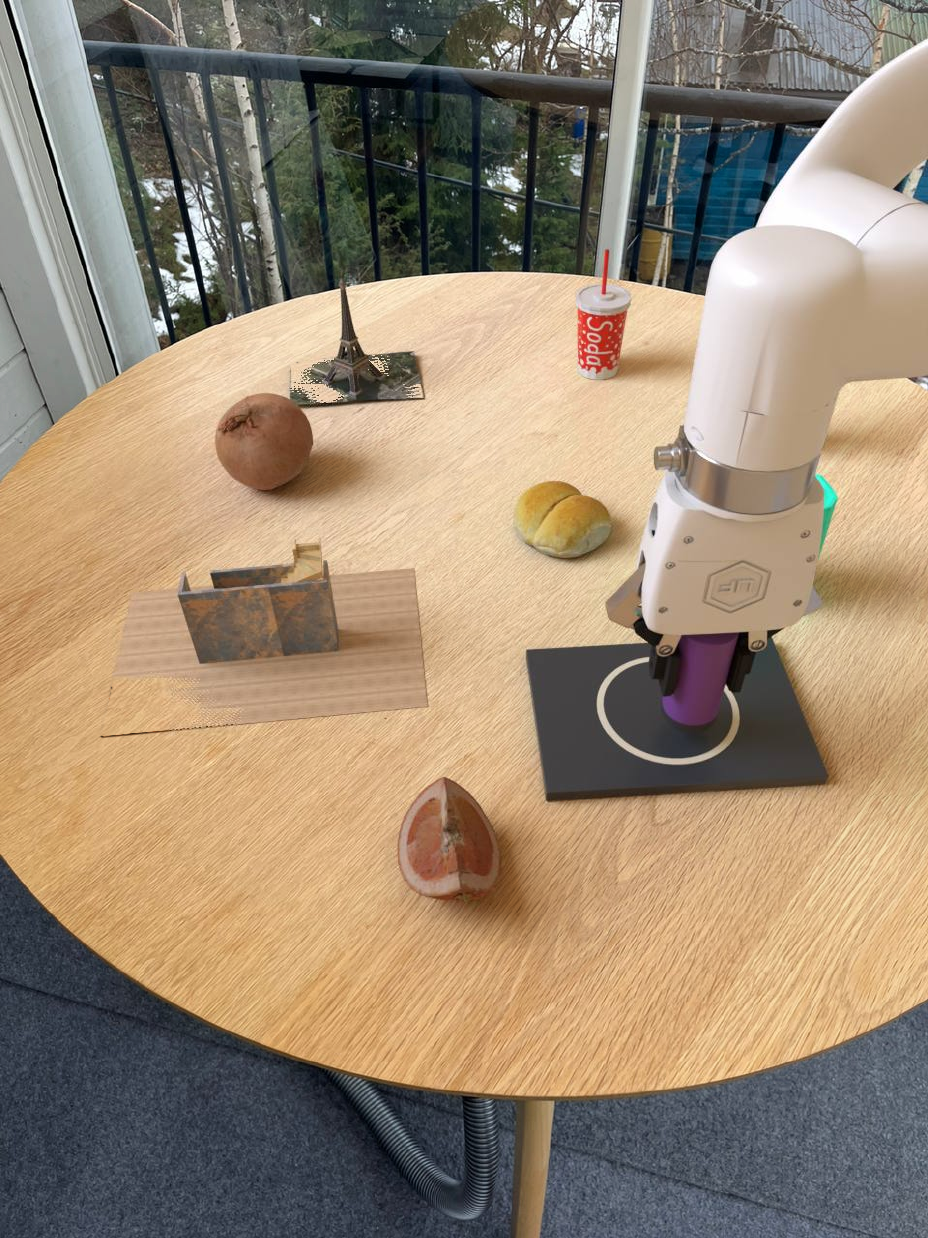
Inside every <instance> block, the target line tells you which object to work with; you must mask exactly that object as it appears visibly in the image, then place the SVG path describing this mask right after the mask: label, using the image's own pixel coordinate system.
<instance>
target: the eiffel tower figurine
mask: <svg viewBox="0 0 928 1238" xmlns="http://www.w3.org/2000/svg"><path fill="white" fill-rule="evenodd" d="M340 276H341V279H340V281H338V286H339V289H340V306H341V307H340V308H341V337H340V338H339V341H340V343H339V347H338V352H337V355H336V356H334V357H333V358H334V360H331V361H330V360H327V361H326V362H327V363H326V362H318V363H320V364H318V363H317V364H313V365H312V367H308V369H309V368H311V370H307V369H305V370H307V372H309V371H310V373H307V372H303V374H306V373H307V375H304V377H305V378H306V379H303V378H304V377H302V379H303V380H304V381H305V380H307V379H308V378H307V377H306V376H308V377H309V378H310V379H309V380H308V381H310V380H313V381H312V382H310V383H307V382H306V384H311V383H312V384H324V385H325V384H326V386H327V387H328V386H329V388H333V390H336V391H337V392H340V394H342V395H344V396H345V395H346V396H345V397H343V396H341V397H342V398H343V399H340V400H338V399H336V400H337V402H334V403H332V402H331V403H332V404H338V403H347V402H354V403H357V402H358V401H368V400H369V401H370V400H371V401H372V400H373V401H374V400H407V399H406V398H410V397H408V396H412V397H413V396H417V395H421V394H416V395H406V394H411V393H414V392H419V390H416V391H408V390H412V389H415V388H420V387H411V388H405V387H410V386H413V385H416V384H422V378H421V374H420V371H419V367H418V364H417V363H418V362H417V359H416V353H415V351H414V350H409V351H397V352H387V353H378V354H377V353H375V354H374V355H375V356H372V355H373V354H367V353H365V352H364V351H363V348H362V346H361V344H360V342H359V336H357V334H356V332H355V328H354V324H353V319H352V314H351V309H350V305H349V300H348V299H349V298H348V294H347V287H346V286H347V282H346V280H344V279H343V274H342V272H340ZM381 355H382V356H381ZM387 356H388V357H387ZM375 357H378V358H379V360H380V361H381V362H382V361H384V360H385V361H386V362H382V364H384V363H387V365H386V364H384V365H383V367H384V370H385V369H389V370H385V372H380V371H383V370H380V371H379V370H378V369H377V368H376V367H375V366H374V365H373V364H372V363H371V362H370V361H375V360H378V359H372V358H375ZM381 358H384V359H381ZM387 359H390V360H387ZM369 360H370V361H369ZM324 361H325V360H324ZM328 361H329V362H328ZM374 363H378V361H377V362H374ZM382 364H380V365H382ZM377 365H378V364H377ZM313 366H314V367H313ZM378 366H379V365H378ZM385 366H388V368H387V367H385ZM379 368H382V367H379ZM368 369H369V370H368ZM305 370H304V371H305ZM301 373H302V372H301ZM384 373H388V374H384ZM309 374H311V375H309ZM387 375H389V376H387ZM301 376H302V375H301ZM314 378H315V379H314ZM420 378H421V379H420ZM300 380H301V379H300ZM316 380H318V381H316ZM322 380H323V381H322ZM301 382H303V381H301ZM313 382H315V383H313ZM319 382H321V383H319ZM294 383H296V382H294ZM298 384H300V383H298ZM301 384H305V383H301ZM403 384H405V385H403ZM422 385H423V384H422ZM294 387H295V386H294ZM298 387H299V386H298ZM315 387H316V386H315ZM302 388H303V387H302ZM290 389H292V388H290V387H289V399H290V400H291V401H293V402H294V403H295V404H296V405H313V404H312V403H314V402H315V403H317V404H316V405H319V404H318V403H320V402H316V401H317V400H313V399H308V398H310V397H311V396H308V397H306V396H307V395H309V394H305V393H306V392H308V391H305V392H302V390H303V391H304V390H305V389H302V390H300V389H301V388H298V390H295V389H296V388H294V390H290ZM311 389H313V388H311ZM318 389H319V388H318ZM292 391H294V392H292ZM297 391H299V392H297ZM313 391H315V390H313ZM299 393H301V394H299ZM309 393H312V392H309ZM340 394H339V395H340ZM313 395H315V394H313ZM313 395H312V396H313ZM317 396H319V395H317ZM341 397H338V398H341ZM312 398H316V397H312ZM336 400H333V401H336ZM310 401H311V402H310ZM321 401H323V400H321ZM324 403H326V402H324Z"/></svg>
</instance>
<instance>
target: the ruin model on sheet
mask: <svg viewBox="0 0 928 1238" xmlns="http://www.w3.org/2000/svg"><path fill="white" fill-rule="evenodd" d="M318 540H319V541H317V542H305V543H297V538H294V548H292V549H291V550H292V555H293V556H292V557H293V562H292V563H283V564H272V565H271V564H270V565H260V566H259V565H258V566H249V567H236V568H223V569H209V576H210V578H211V582H212V585H203V586H190V583H189V580H188V577H187V574H186V572H185V571H183V572H180V578H179V584H178V588H169V589H168V588H167V589H157V590H143V591H132V592H131V596H130V600H129V605H128V608H127V613H126V619H125V623H124V627H123V631H122V632H123V633H122V636H121V641H120V646H119V650H118V654H117V659H116V664H115V668H114V673H113V678H116V680H117V678H124V677H125V678H127V677H128V678H131V677H132V679H133V678H136V680H137V678H141V677H142V678H144V676H145V678H146V679H147V678H148V677H149V678H151V676H152V678H155V677H156V678H158V677H157V675H158V676H159V677H160V678H162V677H163V678H166V677H167V678H170V677H171V678H172V680H173V678H175V679H176V680H177V678H179V679H180V678H183V679H184V680H185V678H187V679H188V680H189V681H190V682H191V683H192V680H193V681H194V682H195V683H196V684H197V685H195V683H192V684H193V685H194V686H195V687H193V685H190V683H188V680H185V681H186V682H187V683H188V684H189V685H190V686H191V687H192V688H193V689H191V687H188V685H186V683H184V684H185V685H186V686H187V687H188V688H189V689H190V690H191V691H189V689H187V688H186V687H184V685H182V686H183V687H184V688H185V689H186V690H187V691H188V692H189V693H187V691H185V690H184V689H182V687H180V688H181V689H182V690H183V691H184V692H185V693H186V694H187V695H188V696H189V697H191V698H192V699H193V696H194V697H195V695H197V697H195V698H196V699H197V700H198V701H196V699H193V700H194V701H195V702H196V703H198V704H199V702H201V704H199V705H200V706H201V707H200V706H197V704H195V705H196V706H197V707H199V708H200V709H201V708H204V709H205V710H206V708H208V709H210V708H213V709H214V710H215V708H217V709H219V710H220V708H222V709H223V708H227V709H228V708H231V709H233V710H234V708H236V709H238V708H241V709H238V710H239V711H236V710H234V711H236V712H237V713H239V714H237V713H235V712H233V713H234V714H236V715H237V717H236V715H233V713H230V712H229V711H226V709H223V710H220V711H222V712H223V713H225V714H226V715H228V714H227V713H226V712H228V713H229V714H231V715H232V716H234V717H236V718H234V717H231V715H228V716H229V717H231V718H232V719H234V720H232V719H229V717H226V716H225V714H222V713H221V712H219V713H220V714H221V715H223V716H225V717H226V718H228V719H229V720H227V719H226V718H223V716H220V715H219V713H216V711H217V712H218V710H216V711H213V709H210V710H211V711H213V712H214V713H215V714H217V715H218V716H220V717H221V718H223V719H225V720H226V721H228V722H229V723H228V722H225V721H224V720H221V718H218V717H217V715H214V713H211V711H208V709H207V711H208V712H210V713H211V714H212V715H214V716H215V717H217V718H218V719H220V720H221V721H223V722H225V723H226V724H228V725H226V724H225V723H222V722H220V723H222V724H223V725H225V726H235V725H245V724H255V723H266V722H277V721H287V720H298V719H307V718H318V717H329V716H341V715H348V714H350V715H351V714H361V713H372V712H382V711H383V712H384V711H391V710H392V711H393V710H404V709H412V708H413V709H414V708H415V709H416V708H425V707H428V697H427V696H428V695H427V687H426V678H425V677H426V676H425V668H424V655H423V647H422V646H423V645H422V637H421V628H420V627H421V626H420V617H419V607H418V597H417V588H416V577H415V569H414V567H411V568H401V569H389V570H378V571H365V572H355V573H353V572H352V573H342V574H332V575H331V574H330V569H329V564H328V559H323V554H322V553H323V552H322V544H321V537H320V536H318ZM148 650H149V651H148ZM119 651H120V652H119ZM148 656H149V657H148ZM121 667H122V668H121ZM128 668H129V669H128ZM159 668H160V669H159ZM163 668H164V669H163ZM119 669H120V670H119ZM149 669H150V670H149ZM153 669H154V670H153ZM157 670H158V671H157ZM130 671H131V672H130ZM161 671H162V672H161ZM165 671H166V672H165ZM151 672H152V673H151ZM155 672H156V674H155ZM159 673H160V674H161V675H162V676H161V675H159ZM132 674H133V675H132ZM146 674H147V675H146ZM149 674H150V675H151V676H149ZM153 674H154V676H155V677H153ZM164 674H165V676H164ZM119 675H120V676H119ZM136 675H137V676H136ZM123 676H124V677H123ZM140 676H141V677H140ZM113 678H112V679H113ZM190 678H191V679H192V680H190ZM194 678H195V679H196V680H194ZM199 679H200V680H199ZM180 680H181V679H180ZM144 681H145V680H144ZM173 681H174V682H175V680H173ZM177 681H178V682H179V680H177ZM181 681H182V682H183V680H181ZM197 681H198V682H199V683H197ZM114 682H115V681H114ZM134 682H135V681H134ZM170 682H171V680H170ZM202 682H203V683H202ZM211 682H212V683H211ZM179 683H180V682H179ZM168 684H169V683H168ZM172 684H173V683H172ZM176 684H177V683H176ZM180 684H181V683H180ZM200 684H201V685H200ZM209 684H210V685H209ZM214 685H215V686H214ZM170 686H171V685H170ZM174 686H175V687H176V685H174ZM178 686H179V685H178ZM198 686H199V687H198ZM212 687H213V688H212ZM172 688H173V689H174V687H172ZM176 688H177V687H176ZM196 688H197V689H196ZM169 689H170V688H169ZM177 689H178V690H179V691H180V689H179V688H177ZM170 690H171V691H172V689H170ZM174 690H175V691H176V692H177V693H178V691H177V690H176V689H174ZM194 690H195V691H194ZM207 690H208V691H209V692H208V691H207ZM167 691H168V690H167ZM183 691H180V692H181V693H182V694H183V695H184V696H185V697H186V698H188V696H186V695H185V693H183ZM204 691H205V692H204ZM172 692H173V693H174V694H175V695H176V696H177V693H175V692H174V691H172ZM192 692H193V693H194V694H192ZM169 693H170V692H169ZM173 693H171V695H172V696H173ZM181 693H178V694H179V695H180V696H181ZM197 693H198V694H197ZM202 693H203V694H202ZM190 694H191V695H192V696H190ZM200 695H201V696H200ZM174 697H175V696H174ZM177 697H179V696H177ZM181 697H182V698H184V697H183V696H181ZM198 697H199V698H200V699H198ZM182 698H180V699H181V700H182ZM186 698H184V699H185V700H186ZM191 698H188V699H189V700H190V701H191ZM203 698H204V699H203ZM207 698H209V699H207ZM212 698H213V699H212ZM173 700H174V699H173ZM201 700H202V701H201ZM206 700H207V701H206ZM210 700H211V701H210ZM215 700H216V701H215ZM220 701H221V702H220ZM171 702H172V701H171ZM175 702H176V701H175ZM179 702H180V701H179ZM183 702H184V701H183ZM187 702H188V703H189V701H187ZM191 702H192V703H193V704H194V702H193V701H191ZM204 702H205V703H204ZM208 702H209V703H208ZM213 702H214V703H213ZM226 702H227V703H226ZM236 702H237V703H236ZM184 703H185V702H184ZM218 703H220V704H218ZM185 704H186V705H187V703H185ZM189 704H191V703H189ZM202 704H203V705H202ZM207 704H208V705H207ZM211 704H212V705H211ZM229 704H230V705H229ZM174 705H175V704H174ZM182 705H183V704H182ZM191 705H192V704H191ZM188 706H189V707H190V705H188ZM205 706H206V707H205ZM209 706H210V707H209ZM214 706H215V707H214ZM227 706H228V707H227ZM237 706H238V707H237ZM193 707H194V708H195V706H193ZM147 708H148V707H147ZM186 708H188V707H186ZM190 708H192V707H190ZM242 709H243V710H242ZM224 710H225V711H226V712H224ZM228 710H229V709H228ZM198 711H199V710H198ZM202 711H204V710H202ZM202 711H201V713H202ZM207 711H204V712H205V713H207ZM230 711H231V712H232V710H230ZM240 711H241V713H240ZM245 711H246V712H245ZM205 713H202V714H204V715H205V716H206V717H207V714H208V715H209V713H207V714H205ZM243 713H244V714H243ZM189 714H190V713H189ZM194 714H195V713H194ZM198 714H199V715H200V713H198ZM202 714H201V716H202V717H203V715H202ZM187 715H188V714H187ZM212 715H209V716H211V717H212ZM241 715H242V716H241ZM192 716H193V715H192ZM196 716H198V715H196ZM185 717H186V716H185ZM189 717H191V716H189ZM206 717H203V718H205V719H206ZM215 717H212V718H214V719H215ZM239 717H241V718H239ZM245 717H246V718H245ZM195 718H196V717H195ZM199 718H201V717H199ZM208 718H209V719H210V717H208ZM188 719H189V718H188ZM237 719H239V720H237ZM243 719H244V720H243ZM193 720H194V719H193ZM198 720H199V719H198ZM202 720H203V721H204V719H202ZM206 720H208V719H206ZM211 720H212V721H214V720H213V719H211ZM215 720H217V719H215ZM230 720H231V721H233V722H234V723H233V722H230ZM235 720H236V721H237V722H236V721H235ZM240 720H241V721H242V722H241V721H240ZM186 721H187V720H186ZM217 721H218V722H219V720H217ZM196 722H197V721H196ZM200 722H202V721H200ZM205 722H206V723H207V721H205ZM209 722H211V721H209ZM214 722H215V723H217V722H216V721H214ZM238 722H239V723H238ZM189 723H190V722H189ZM193 723H195V722H193ZM211 723H212V722H211ZM215 723H212V724H214V725H215V726H213V725H212V724H209V723H208V724H209V725H211V726H212V727H210V726H208V725H207V724H205V723H203V724H205V725H203V724H201V725H202V726H204V727H201V725H198V724H196V725H198V726H199V727H201V728H199V727H196V725H193V724H192V723H191V724H192V725H193V726H195V727H196V728H194V727H193V726H191V725H189V726H191V727H192V728H193V729H202V728H213V727H214V728H215V727H223V725H220V723H217V724H218V725H220V726H218V725H216V724H215ZM235 723H236V724H235ZM174 724H175V723H174ZM182 724H183V723H182ZM186 724H188V723H186ZM199 724H200V723H199ZM231 724H233V725H231ZM175 725H176V724H175ZM185 726H186V725H185ZM189 726H186V727H188V728H189ZM206 726H208V727H206ZM170 727H171V726H170ZM174 727H175V728H177V727H176V726H174ZM178 727H179V726H178ZM182 727H184V726H182ZM192 728H189V729H187V728H185V729H182V728H181V729H182V730H183V731H184V730H192ZM173 729H174V728H173ZM170 730H172V729H170ZM172 731H181V730H180V729H178V730H176V729H174V730H172Z"/></svg>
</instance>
